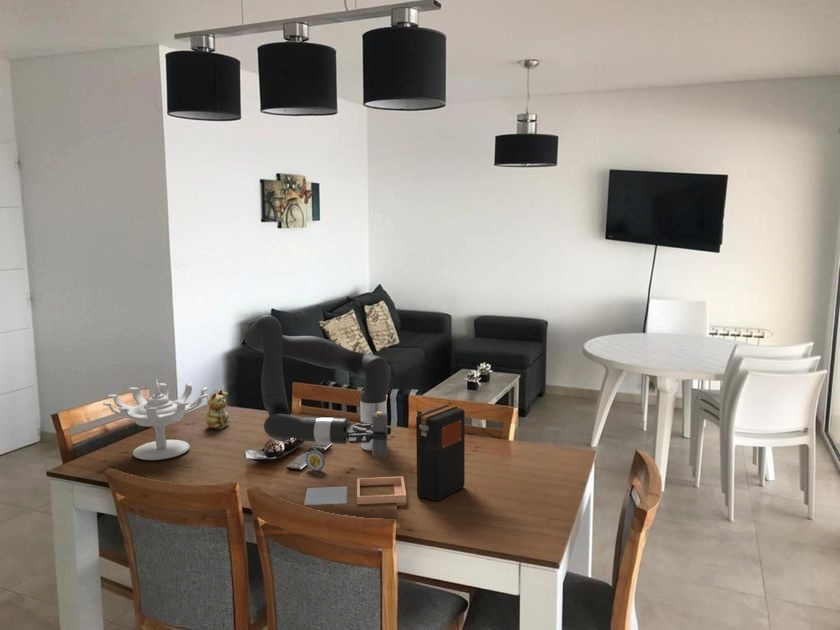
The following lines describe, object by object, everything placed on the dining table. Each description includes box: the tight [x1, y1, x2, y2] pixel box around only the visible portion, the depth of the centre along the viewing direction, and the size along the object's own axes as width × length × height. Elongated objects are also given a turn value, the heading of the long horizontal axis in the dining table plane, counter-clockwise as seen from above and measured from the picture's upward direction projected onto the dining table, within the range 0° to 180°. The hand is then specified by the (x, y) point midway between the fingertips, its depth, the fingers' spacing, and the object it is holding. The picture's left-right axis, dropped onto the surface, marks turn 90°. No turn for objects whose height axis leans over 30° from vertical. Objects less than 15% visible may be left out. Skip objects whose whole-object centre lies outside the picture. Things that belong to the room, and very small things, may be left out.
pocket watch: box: [299, 442, 326, 480], centre depth 216 cm, size 8×8×10 cm
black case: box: [415, 404, 466, 502], centre depth 201 cm, size 16×9×25 cm, turn 141°
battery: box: [371, 411, 389, 458], centre depth 198 cm, size 4×4×13 cm
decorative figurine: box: [205, 389, 231, 430], centre depth 266 cm, size 10×8×15 cm
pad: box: [303, 486, 348, 506], centre depth 199 cm, size 12×12×1 cm
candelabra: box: [102, 377, 209, 461], centre depth 237 cm, size 34×35×27 cm
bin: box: [356, 475, 407, 506], centre depth 200 cm, size 14×14×3 cm
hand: (388, 433), depth 197 cm, fingers closed on battery, 4 cm apart
